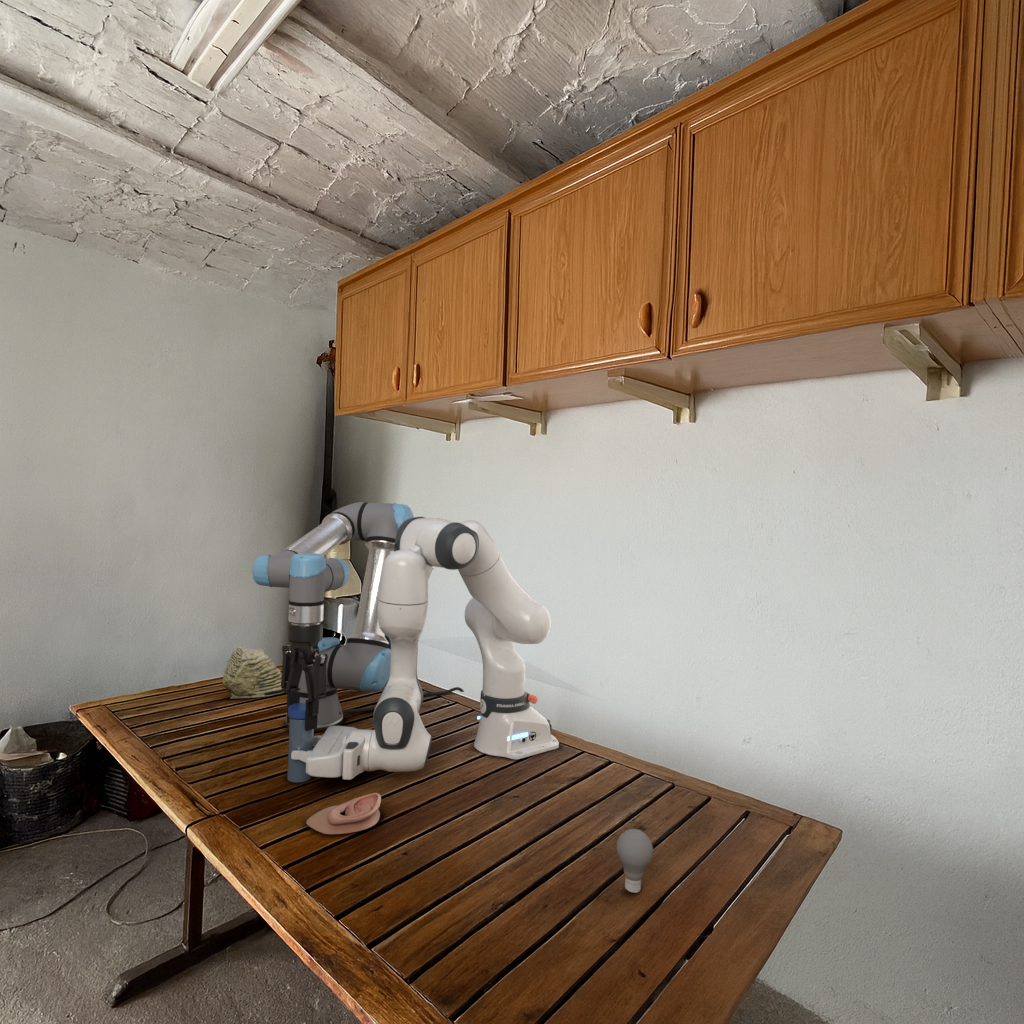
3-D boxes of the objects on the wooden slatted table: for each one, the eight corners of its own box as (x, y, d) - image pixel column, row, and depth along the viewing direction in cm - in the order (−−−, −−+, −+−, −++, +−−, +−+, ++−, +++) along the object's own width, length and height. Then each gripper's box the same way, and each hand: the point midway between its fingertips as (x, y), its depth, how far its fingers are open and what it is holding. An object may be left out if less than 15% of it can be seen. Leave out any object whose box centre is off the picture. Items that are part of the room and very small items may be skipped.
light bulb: (610, 879, 108) (613, 822, 108) (644, 879, 109) (647, 822, 109) (619, 902, 102) (622, 840, 102) (655, 901, 103) (658, 840, 103)
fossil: (218, 695, 195) (220, 647, 195) (278, 685, 208) (279, 640, 207) (228, 703, 189) (230, 653, 188) (289, 692, 201) (290, 645, 201)
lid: (316, 718, 140) (316, 710, 140) (287, 719, 138) (287, 711, 138) (315, 709, 146) (316, 701, 146) (288, 710, 144) (288, 703, 144)
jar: (294, 784, 139) (297, 715, 138) (282, 776, 142) (285, 709, 142) (316, 777, 143) (319, 709, 142) (304, 770, 146) (307, 704, 146)
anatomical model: (298, 809, 120) (327, 783, 131) (297, 830, 120) (327, 802, 131) (363, 819, 117) (388, 791, 128) (362, 840, 117) (387, 811, 128)
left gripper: (266, 618, 144) (262, 719, 145) (318, 631, 133) (313, 741, 134) (294, 614, 150) (291, 711, 151) (346, 627, 139) (342, 731, 140)
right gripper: (368, 719, 153) (310, 718, 153) (349, 753, 133) (282, 751, 132) (367, 745, 153) (309, 744, 153) (348, 783, 133) (281, 781, 132)
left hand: (301, 725), depth 142 cm, fingers closed on lid, 6 cm apart
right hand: (296, 748), depth 142 cm, fingers closed on jar, 5 cm apart
